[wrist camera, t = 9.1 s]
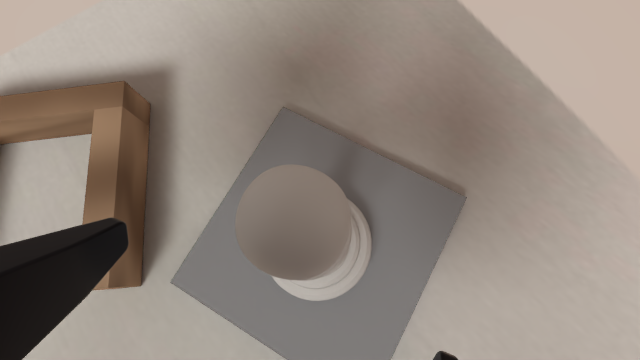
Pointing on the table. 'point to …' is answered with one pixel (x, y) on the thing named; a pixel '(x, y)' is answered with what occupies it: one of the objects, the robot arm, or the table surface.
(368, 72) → the table surface
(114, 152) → the wooden u-shaped pawn holder
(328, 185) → the chess piece
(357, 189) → the slate pad
